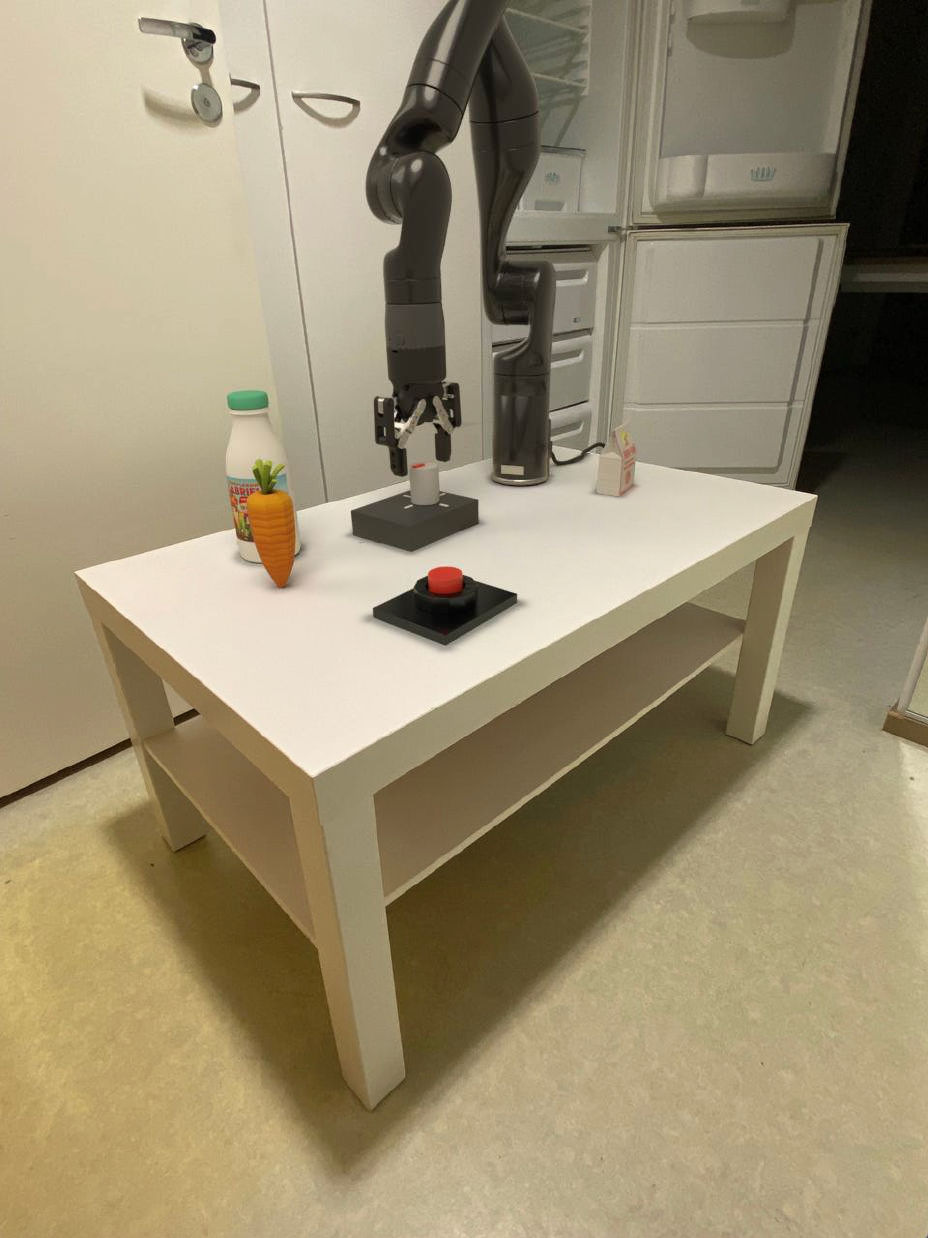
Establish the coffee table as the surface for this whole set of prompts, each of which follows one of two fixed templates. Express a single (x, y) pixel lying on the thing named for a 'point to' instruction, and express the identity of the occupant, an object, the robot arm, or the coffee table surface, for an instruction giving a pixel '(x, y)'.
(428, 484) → the timer knob
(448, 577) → the power button
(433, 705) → the coffee table surface
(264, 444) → the milk bottle
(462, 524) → the panel
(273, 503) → the carrot
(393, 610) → the power switch
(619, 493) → the milk carton
